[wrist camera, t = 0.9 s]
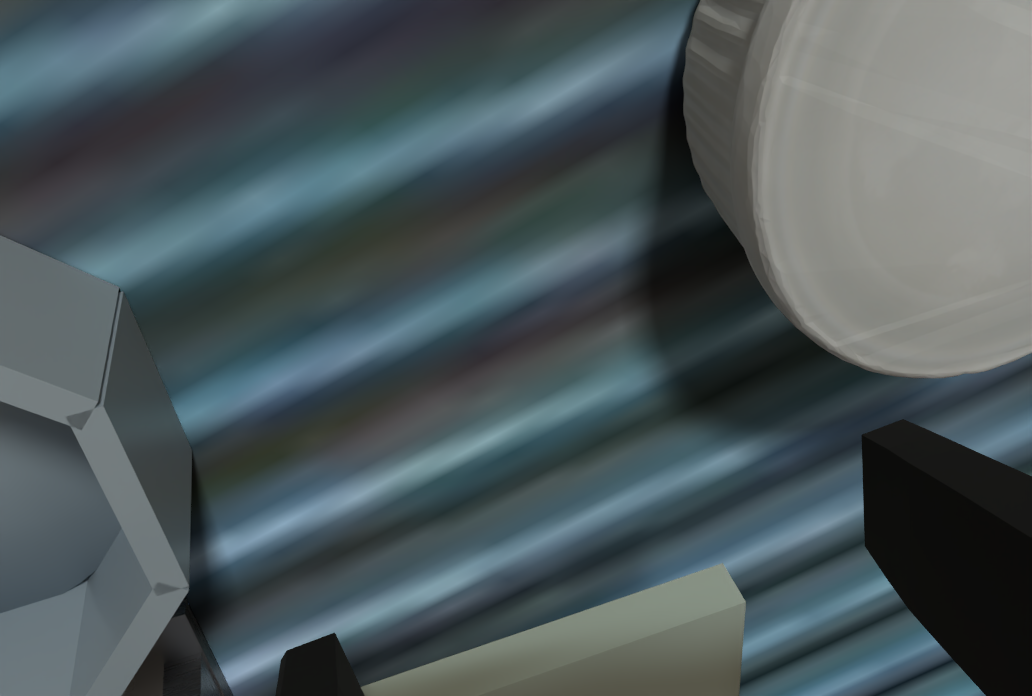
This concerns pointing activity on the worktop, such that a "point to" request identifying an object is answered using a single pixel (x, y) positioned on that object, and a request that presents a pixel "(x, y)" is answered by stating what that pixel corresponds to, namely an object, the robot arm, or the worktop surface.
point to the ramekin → (875, 170)
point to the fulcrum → (179, 662)
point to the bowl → (83, 484)
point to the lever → (605, 650)
